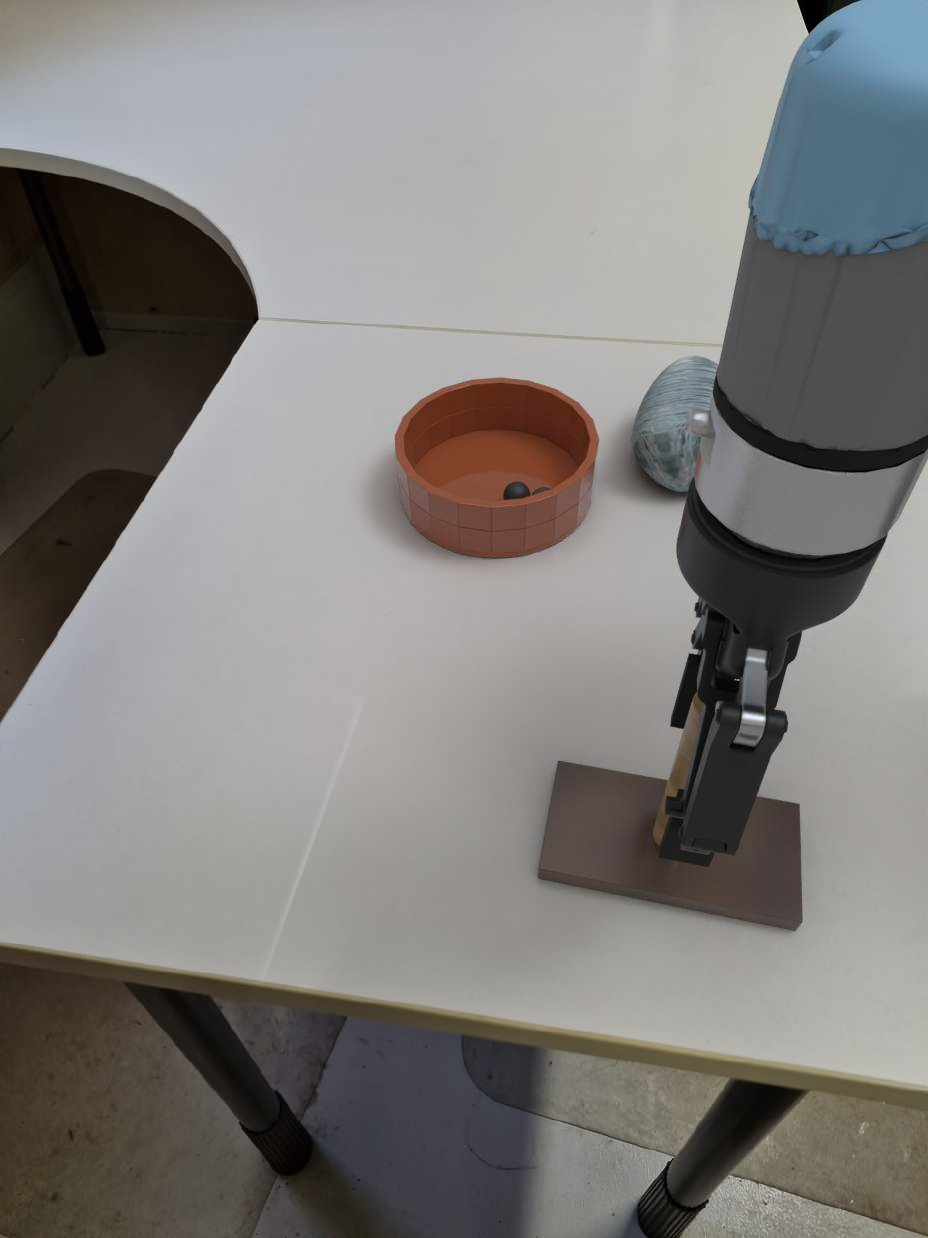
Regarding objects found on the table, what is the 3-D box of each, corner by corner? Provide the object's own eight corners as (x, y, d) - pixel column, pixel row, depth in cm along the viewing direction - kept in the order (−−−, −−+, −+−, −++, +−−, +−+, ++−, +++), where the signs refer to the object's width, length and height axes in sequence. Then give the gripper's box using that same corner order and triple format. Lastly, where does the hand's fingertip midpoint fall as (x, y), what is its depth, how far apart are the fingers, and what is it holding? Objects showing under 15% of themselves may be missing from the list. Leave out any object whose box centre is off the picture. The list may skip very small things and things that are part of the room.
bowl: (603, 440, 83) (609, 388, 78) (578, 571, 72) (583, 519, 67) (427, 420, 86) (423, 368, 81) (377, 543, 75) (369, 491, 70)
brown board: (794, 814, 57) (800, 803, 56) (796, 931, 52) (802, 922, 51) (556, 771, 60) (557, 760, 59) (537, 878, 55) (538, 868, 54)
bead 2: (548, 477, 74) (567, 497, 75) (533, 488, 76) (551, 507, 77) (535, 493, 73) (554, 513, 74) (520, 504, 75) (539, 523, 76)
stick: (688, 823, 55) (737, 689, 44) (686, 854, 54) (736, 725, 43) (653, 816, 56) (694, 682, 44) (650, 847, 54) (691, 717, 43)
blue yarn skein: (732, 494, 72) (706, 381, 69) (628, 510, 78) (598, 405, 74) (766, 437, 82) (744, 334, 78) (671, 454, 88) (646, 359, 84)
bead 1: (537, 491, 76) (515, 477, 77) (533, 490, 74) (510, 475, 74) (523, 514, 77) (501, 499, 77) (518, 513, 75) (495, 498, 75)
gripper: (703, 336, 40) (640, 640, 57) (670, 701, 27) (602, 950, 44) (873, 352, 38) (756, 658, 56) (925, 743, 26) (752, 982, 43)
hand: (688, 787), depth 50 cm, fingers open, 8 cm apart
